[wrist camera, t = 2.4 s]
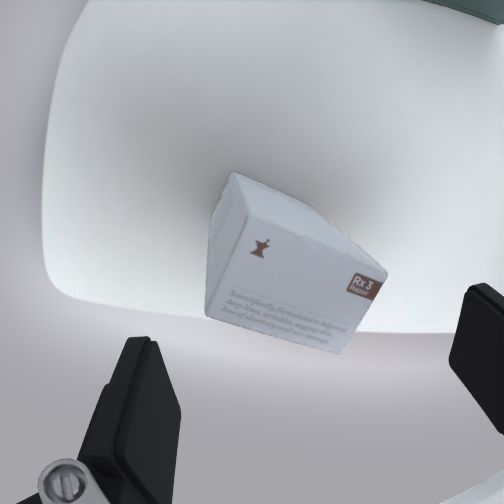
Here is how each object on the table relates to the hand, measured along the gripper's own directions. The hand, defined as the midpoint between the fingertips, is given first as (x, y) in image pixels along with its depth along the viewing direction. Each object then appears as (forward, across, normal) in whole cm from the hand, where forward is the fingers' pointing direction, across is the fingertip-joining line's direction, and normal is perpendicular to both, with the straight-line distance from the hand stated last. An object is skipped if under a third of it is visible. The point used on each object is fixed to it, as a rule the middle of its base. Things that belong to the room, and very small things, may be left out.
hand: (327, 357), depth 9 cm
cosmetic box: (+15, 0, 0) cm, 15 cm away
